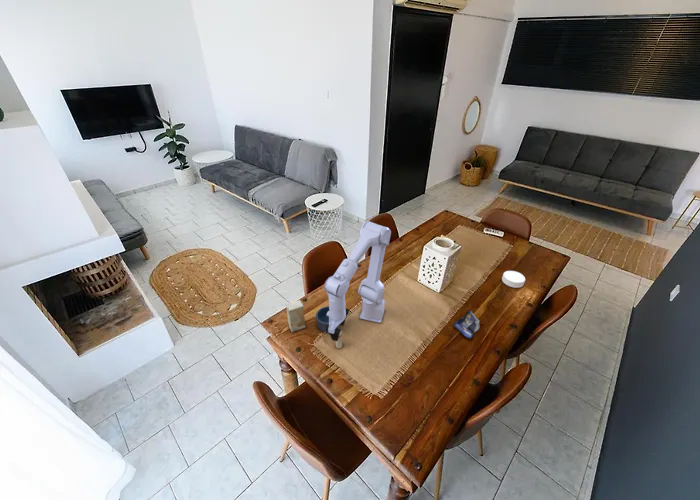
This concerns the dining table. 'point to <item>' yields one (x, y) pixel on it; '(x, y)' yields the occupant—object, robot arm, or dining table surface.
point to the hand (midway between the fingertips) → (338, 332)
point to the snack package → (467, 324)
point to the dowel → (339, 341)
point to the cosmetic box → (295, 315)
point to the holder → (322, 318)
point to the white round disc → (513, 279)
